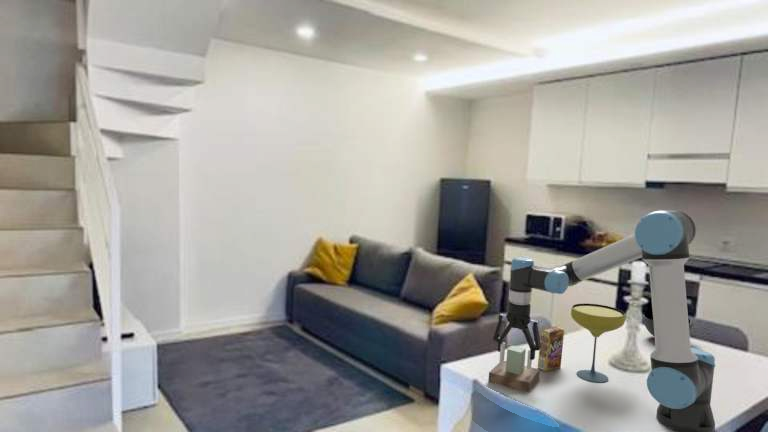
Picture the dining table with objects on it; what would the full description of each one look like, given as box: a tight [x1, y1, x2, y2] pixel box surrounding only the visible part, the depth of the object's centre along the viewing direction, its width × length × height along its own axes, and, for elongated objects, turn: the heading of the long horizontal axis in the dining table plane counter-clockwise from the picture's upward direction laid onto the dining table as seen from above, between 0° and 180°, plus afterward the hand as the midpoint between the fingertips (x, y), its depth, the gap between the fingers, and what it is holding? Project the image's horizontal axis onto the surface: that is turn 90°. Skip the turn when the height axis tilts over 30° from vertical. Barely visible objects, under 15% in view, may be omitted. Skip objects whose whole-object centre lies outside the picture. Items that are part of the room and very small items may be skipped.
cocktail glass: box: [570, 303, 626, 384], centre depth 183 cm, size 18×18×25 cm
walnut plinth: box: [488, 360, 541, 394], centre depth 178 cm, size 14×14×4 cm
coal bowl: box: [642, 300, 694, 338], centre depth 229 cm, size 20×20×19 cm
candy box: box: [537, 326, 565, 372], centre depth 190 cm, size 9×4×15 cm, turn 123°
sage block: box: [505, 345, 527, 375], centre depth 177 cm, size 5×5×8 cm
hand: (515, 364), depth 177 cm, fingers open, 9 cm apart
